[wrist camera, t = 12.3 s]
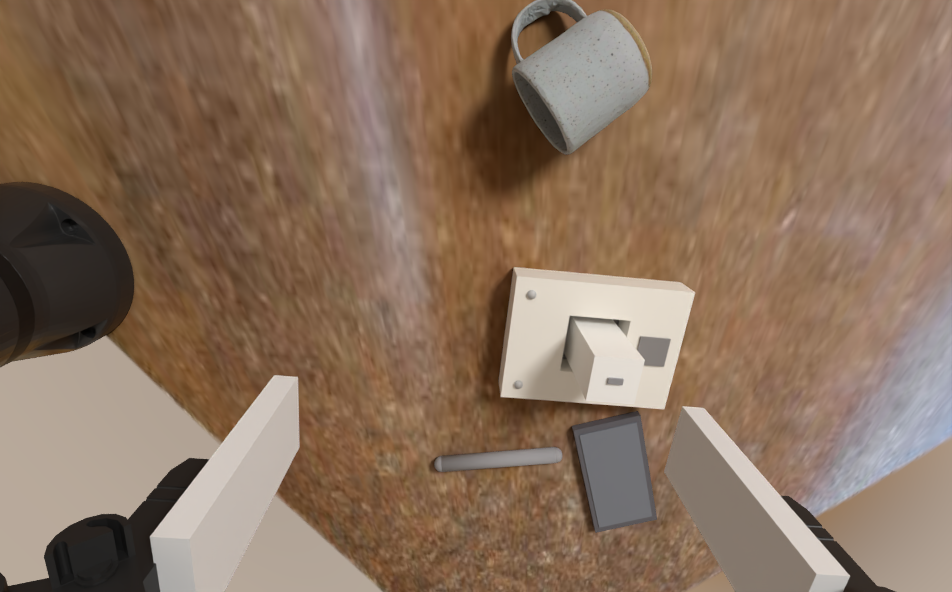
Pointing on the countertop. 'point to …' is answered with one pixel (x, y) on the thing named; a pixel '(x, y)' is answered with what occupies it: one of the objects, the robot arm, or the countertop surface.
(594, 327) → the charger block
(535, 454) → the grey rod
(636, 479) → the phone slab
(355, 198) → the countertop surface
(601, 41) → the ceramic mug
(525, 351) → the outlet plate
